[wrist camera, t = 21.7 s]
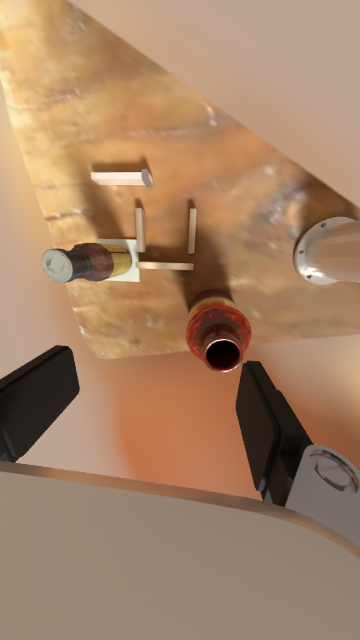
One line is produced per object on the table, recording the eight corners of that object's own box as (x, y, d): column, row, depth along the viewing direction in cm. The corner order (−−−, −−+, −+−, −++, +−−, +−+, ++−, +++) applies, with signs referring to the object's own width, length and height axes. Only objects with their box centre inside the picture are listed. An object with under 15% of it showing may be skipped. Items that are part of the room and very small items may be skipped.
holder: (196, 212, 36) (196, 206, 32) (193, 269, 39) (192, 270, 36) (139, 211, 37) (132, 205, 33) (141, 267, 40) (135, 267, 37)
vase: (192, 334, 45) (187, 390, 26) (186, 292, 41) (177, 321, 22) (235, 330, 43) (264, 387, 24) (233, 286, 40) (266, 313, 21)
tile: (138, 240, 38) (137, 239, 38) (140, 281, 42) (139, 281, 41) (99, 238, 39) (97, 238, 39) (103, 279, 42) (102, 280, 42)
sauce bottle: (102, 254, 40) (16, 250, 21) (123, 239, 38) (53, 222, 20) (118, 280, 41) (52, 298, 23) (139, 267, 40) (88, 275, 21)
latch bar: (152, 177, 34) (147, 169, 31) (152, 186, 35) (148, 180, 32) (98, 177, 35) (89, 169, 32) (99, 186, 36) (90, 180, 33)
